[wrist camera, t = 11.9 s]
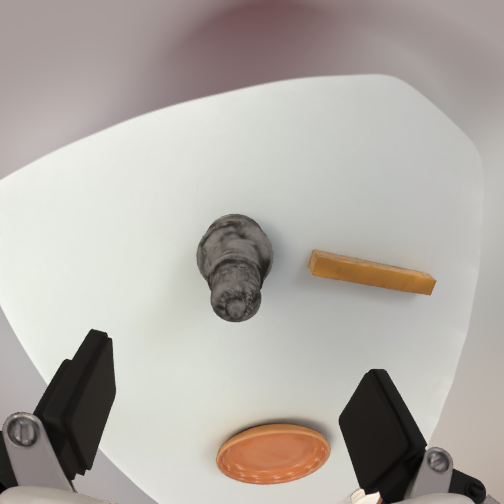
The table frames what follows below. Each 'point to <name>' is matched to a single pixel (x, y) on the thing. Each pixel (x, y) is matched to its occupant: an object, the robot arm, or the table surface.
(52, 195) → the table surface
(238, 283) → the salt shaker
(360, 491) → the coaster
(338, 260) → the golden stick
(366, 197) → the table surface
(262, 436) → the saucer
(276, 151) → the table surface
